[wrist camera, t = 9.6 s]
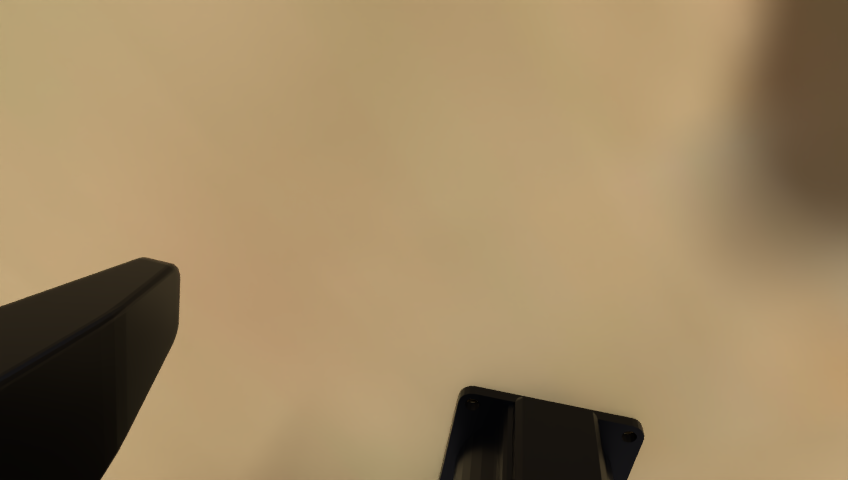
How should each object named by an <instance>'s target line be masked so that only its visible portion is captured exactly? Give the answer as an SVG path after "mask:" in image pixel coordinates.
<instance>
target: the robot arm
mask: <svg viewBox="0 0 848 480" xmlns="http://www.w3.org/2000/svg"><path fill="white" fill-rule="evenodd" d="M179 300H180V273H179V269H178V268H177V267H176V266H175V265H174V264H171V263H167V262H163V261H159V260H155V259H151V258H146V257H142V258H138V259H135V260H132V261H129V262H126V263H123V264H121V265H118V266H115V267H112V268H109V269H106V270H103V271H101V272H98V273H95V274H92V275H89V276H86V277H83V278H81V279H78V280H75V281H72V282H69V283H66V284H63V285H61V286H58V287H55V288H52V289H49V290H46V291H44V292H41V293H38V294H35V295H32V296H29V297H26V298H24V299H21V300H18V301H15V302H12V303H9V304H6V305H4V306H1V307H0V480H101V478H102V477H103V475H104V474H105V472H106V470H107V469H108V467H109V466H110V464H111V462H112V461H113V459H114V458H115V456H116V454H117V453H118V451H119V449H120V447H121V445H122V443H123V441H124V440H125V438H126V436H127V434H128V432H129V430H130V428H131V426H132V424H133V422H134V420H135V418H136V416H137V414H138V412H139V410H140V408H141V406H142V404H143V402H144V400H145V398H146V396H147V394H148V392H149V390H150V388H151V386H152V384H153V382H154V380H155V378H156V376H157V374H158V372H159V370H160V368H161V366H162V364H163V362H164V360H165V358H166V356H167V354H168V353H169V351H170V349H171V347H172V345H173V342H174V340H175V337H176V334H177V330H178V325H179ZM469 399H474V400H477V401H478V402H476V403H471V402H469V401H468V400H469ZM627 431H632V432H633V433H631V434H624V433H625V432H627ZM643 440H644V432H643V427H642V425H641V423H640V422H639V421H638V420H635V419H633V418H629V417H624V416H619V415H614V414H609V413H604V412H599V411H594V410H589V409H584V408H579V407H575V406H570V405H565V404H560V403H555V402H550V401H545V400H540V399H535V398H530V397H525V396H521V395H516V394H511V393H506V392H501V391H496V390H491V389H486V388H481V387H476V386H469V387H465V388H464V389H462V390H461V391H460V393H459V396H458V401H457V405H456V409H455V413H454V418H453V422H452V426H451V431H450V435H449V439H448V443H447V448H446V452H445V456H444V460H443V465H442V469H441V473H440V478H439V480H627V479H628V476H629V474H630V471H631V469H632V467H633V464H634V462H635V459H636V457H637V455H638V452H639V450H640V447H641V445H642V443H643Z"/></svg>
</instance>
